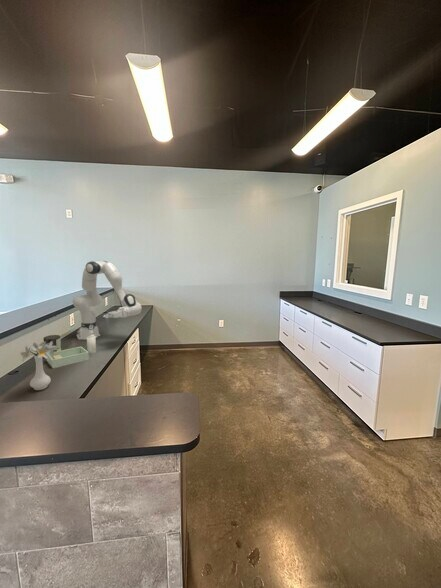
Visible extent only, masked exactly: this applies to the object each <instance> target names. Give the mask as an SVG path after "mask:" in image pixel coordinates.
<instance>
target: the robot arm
mask: <svg viewBox="0 0 441 588" xmlns="http://www.w3.org/2000/svg"><path fill="white" fill-rule="evenodd" d="M101 274H104V276H105V278H106V279H107V281H108V282H109V284H110V285H111V286H112V288H113V290H114V292H115V294H116V296H117V298H118V300H119V303H120V307H118V309H116V310H113V311H109V312H107V313H105V314H103V315H102V318H105V319H108V318H112V319H117V318H118V319H119V318H120V319H123V318H128V317H132V316H136V315H139V314H140V313H141V312H142V311H143V307H142V304H141V303H139V302H138V300H137V299H136V297H135V295H134V294H131V293H128V294H126V293H125V291H124V288H123V285H122V284H123V277H122V274H121V273H120V270H119V269H118V267H116V266H115V265H114V264H113V262H109V261H107V260H94V261H93V260H91V261H89V262H87V263H86V264H85V268H84V269H83V272H82V277H81V289H82V290H83V291H85V293H86V294H82V295H77V296H75V297H74V298H73V299H72V304H73V306H74V307H75V308H76V309H77V310H78V311H79V312H80V317H81V324H80V327H79V330H77V334H76V335H75V336H76V338H77V340H84V341H85V340H86V341H87V336H88V335H89V328H93V334H94V336H96V339H97V338H98V337H101V334H100V333H99V327H98V326H97V321H96V318H97V317H96V312H95V311H93V310H91V307H96V306H99V305H101V304H102V302H103V297H102V296H101V295H100V294H99V293H98V290H97V280H98V279H97V278H98V277H97V276H98V275H101Z"/></svg>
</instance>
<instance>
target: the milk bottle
mask: <svg viewBox="0 0 441 588" xmlns="http://www.w3.org/2000/svg"><path fill="white" fill-rule="evenodd" d="M96 339H97V338H96V336H94V334H93V328H89V335H88V336H87V340H86V349H87V350H86V351H88V352H89V354H93V353H96V352H97V343H96Z"/></svg>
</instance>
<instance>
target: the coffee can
mask: <svg viewBox="0 0 441 588" xmlns="http://www.w3.org/2000/svg"><path fill="white" fill-rule="evenodd" d="M51 341H52V342H53V344H52V346H57V348H56V349H53V352H57V351H61V350H62V347H61V345H62V343H61V335H58V334H52V335H51V334H50V335H46V336H44V337H43V342H44V345H49V343H50V342H51Z"/></svg>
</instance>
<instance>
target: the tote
mask: <svg viewBox="0 0 441 588" xmlns="http://www.w3.org/2000/svg"><path fill="white" fill-rule="evenodd" d="M89 354H90V353H89V352H88V351H87V350H86V349H85V348H84V347H83V346H78V347H72V348H68V349H67V348H66V349H61V351H57V352H54V354H53V355H52V354H51V353H47V356H48V358H47V359H46V362H47V363H48V364H49V366H50V367H51V368H52V369H57V368H60V367H64V366H69V365H72V364H75V363H80V362H85V361H89V360H90V355H89ZM57 355H61V357H62V358H59V359H54V360H53V356H57Z"/></svg>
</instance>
